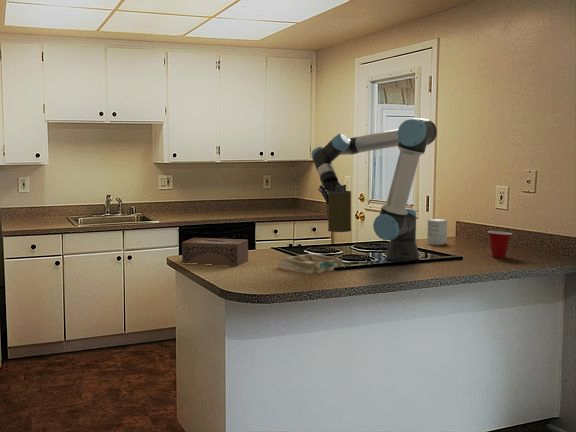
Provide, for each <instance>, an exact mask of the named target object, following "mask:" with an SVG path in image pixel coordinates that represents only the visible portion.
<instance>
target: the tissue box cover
mask: <svg viewBox="0 0 576 432" xmlns="http://www.w3.org/2000/svg"><path fill="white" fill-rule="evenodd" d="M248 244H249V240H248V239H237V238H236V239H235V238H208V237H193V238H190V239H187V240H184V241H182V242H181V264H182V263H197V264H212V265H228V266H227V267H233V266H238V267H240V266H241V264H242V265H243V263H244V264H245V263H247V262H249V245H248ZM212 265H211V266H212ZM239 265H240V266H239Z"/></svg>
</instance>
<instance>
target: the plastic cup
mask: <svg viewBox="0 0 576 432" xmlns="http://www.w3.org/2000/svg"><path fill="white" fill-rule="evenodd" d="M487 233H488V236H489V244H490V245H489V246H490V251H491V256H492V258H496V259H505V258H506V256H507V250H508V248H509V243H510V238H511V236H512V235H513V233H512V232H508V231H498V230H487Z"/></svg>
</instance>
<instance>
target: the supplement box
mask: <svg viewBox="0 0 576 432" xmlns="http://www.w3.org/2000/svg"><path fill="white" fill-rule="evenodd" d="M426 238H427V244H428V245H435V246H442V245H446V244H448V243H447V242H448V220H447V219H442V218H441V219H440V218H434V219H433V218H432V219H428V220H427V237H426Z"/></svg>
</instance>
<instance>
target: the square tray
mask: <svg viewBox="0 0 576 432" xmlns="http://www.w3.org/2000/svg"><path fill="white" fill-rule="evenodd" d="M343 262H344V261H343V258H339V257H333V256H327V255H322V254H316V253H307V254H299V255H294V256H287V257H281V258H279V264H277V269H281V268H282V270H286V269H287V271H292V272H296V271H297V272H296V273H301V272H302V274H306V273H307V275H315V274H320V273H324V272H325V273H326V272H331V271H332V272H333V271H335V270H334V268H335V267H341V266H344V267H345V264H343Z"/></svg>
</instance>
